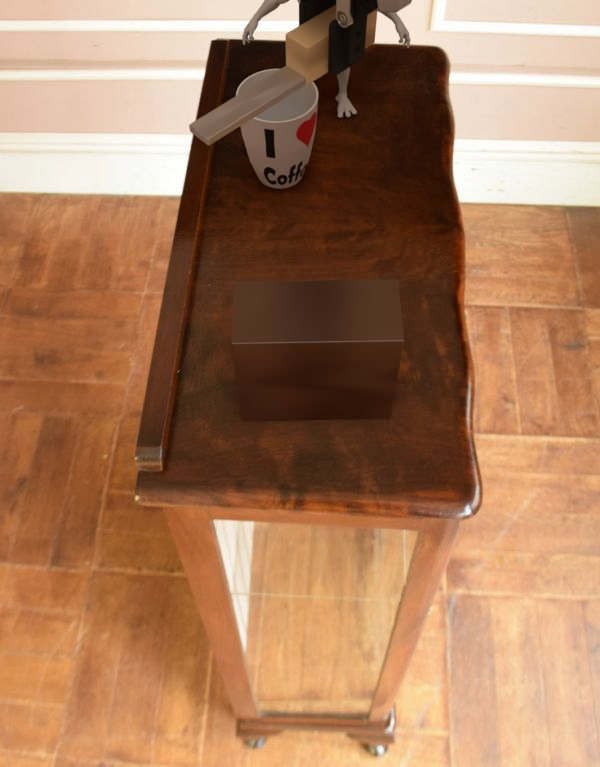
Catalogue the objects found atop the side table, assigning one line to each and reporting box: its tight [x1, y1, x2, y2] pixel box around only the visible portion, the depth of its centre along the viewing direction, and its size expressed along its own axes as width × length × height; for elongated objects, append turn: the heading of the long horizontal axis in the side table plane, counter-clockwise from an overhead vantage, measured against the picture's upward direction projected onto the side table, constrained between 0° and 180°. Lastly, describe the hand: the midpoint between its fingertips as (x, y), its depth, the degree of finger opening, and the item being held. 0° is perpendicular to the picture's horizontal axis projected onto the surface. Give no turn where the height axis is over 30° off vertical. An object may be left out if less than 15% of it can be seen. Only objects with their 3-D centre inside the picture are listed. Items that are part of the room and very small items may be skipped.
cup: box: [235, 68, 319, 190], centre depth 80 cm, size 8×8×10 cm
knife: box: [188, 5, 378, 146], centre depth 54 cm, size 16×2×3 cm, turn 134°
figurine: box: [241, 0, 411, 119], centre depth 82 cm, size 18×7×18 cm, turn 88°
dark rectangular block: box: [230, 278, 405, 422], centre depth 65 cm, size 13×6×12 cm, turn 91°
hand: (331, 54), depth 56 cm, fingers closed on knife, 2 cm apart
